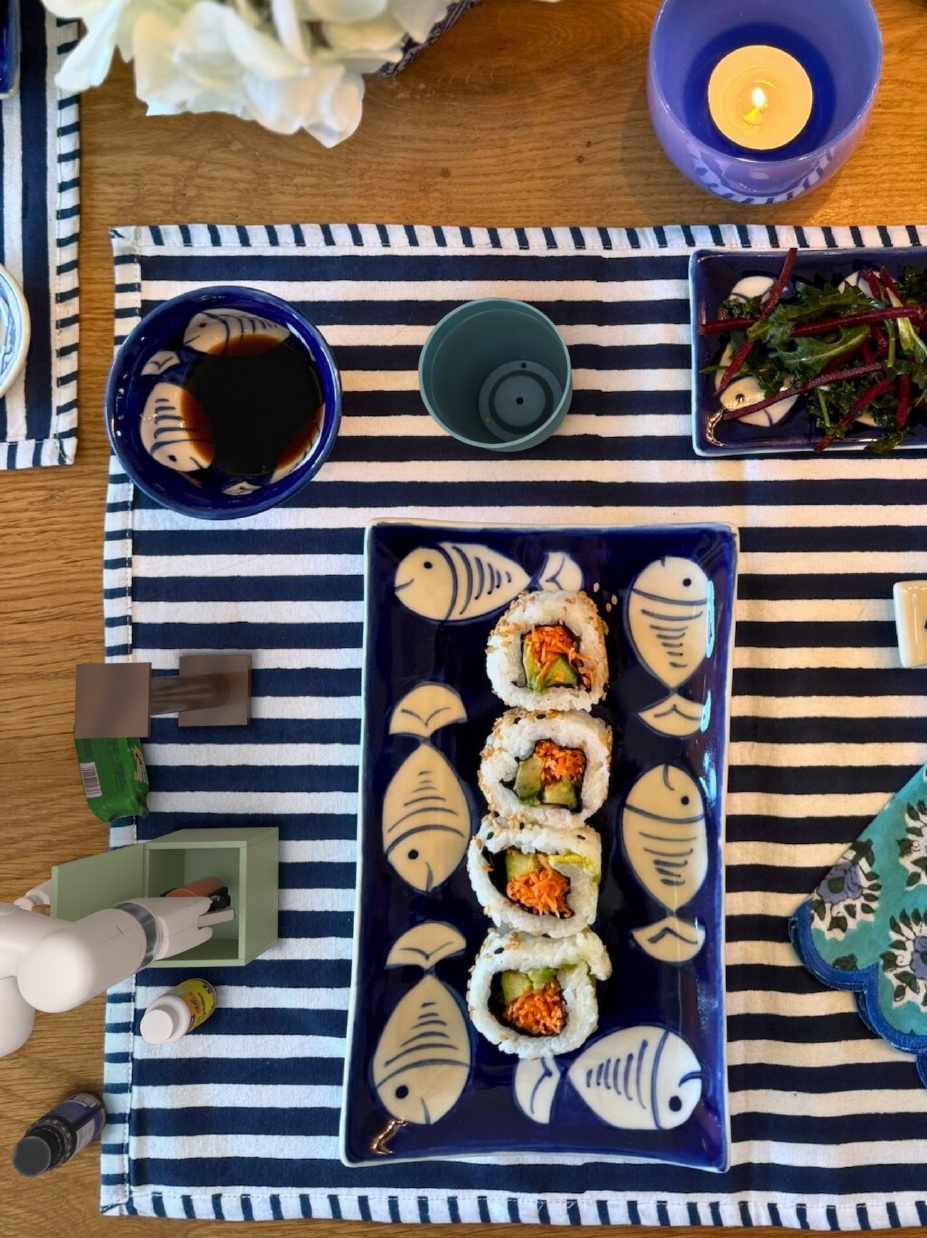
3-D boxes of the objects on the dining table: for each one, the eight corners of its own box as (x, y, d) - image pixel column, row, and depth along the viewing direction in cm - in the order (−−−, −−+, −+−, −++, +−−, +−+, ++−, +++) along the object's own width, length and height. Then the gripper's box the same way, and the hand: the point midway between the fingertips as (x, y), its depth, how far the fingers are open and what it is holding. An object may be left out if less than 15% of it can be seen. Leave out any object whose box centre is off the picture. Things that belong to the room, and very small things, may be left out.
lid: (58, 866, 117) (17, 865, 118) (54, 1006, 116) (12, 1004, 117) (143, 843, 130) (106, 843, 131) (140, 969, 129) (103, 967, 130)
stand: (182, 725, 142) (69, 743, 117) (183, 656, 142) (71, 659, 118) (251, 724, 141) (152, 741, 117) (251, 654, 142) (153, 657, 117)
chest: (278, 826, 140) (246, 840, 130) (277, 943, 139) (244, 965, 129) (182, 829, 140) (142, 842, 131) (180, 945, 139) (139, 968, 129)
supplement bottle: (217, 1022, 138) (178, 1052, 128) (174, 1021, 138) (131, 1051, 128) (219, 976, 139) (180, 1003, 128) (176, 975, 139) (134, 1002, 129)
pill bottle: (52, 1108, 138) (-6, 1149, 127) (92, 1080, 138) (38, 1118, 127) (78, 1150, 137) (22, 1194, 126) (118, 1121, 137) (66, 1163, 126)
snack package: (109, 826, 141) (87, 833, 135) (84, 708, 142) (60, 711, 137) (163, 812, 141) (142, 818, 136) (137, 694, 142) (115, 696, 137)
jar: (187, 918, 133) (158, 933, 126) (188, 876, 134) (159, 889, 127) (228, 917, 133) (201, 932, 126) (228, 875, 134) (201, 888, 127)
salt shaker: (101, 872, 140) (49, 892, 129) (90, 914, 140) (37, 937, 129) (61, 863, 140) (5, 882, 129) (50, 905, 140) (-7, 928, 129)
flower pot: (430, 439, 144) (393, 413, 127) (484, 316, 146) (454, 274, 129) (555, 490, 143) (534, 470, 127) (608, 366, 145) (594, 330, 128)
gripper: (38, 979, 114) (132, 932, 132) (200, 976, 113) (271, 930, 132) (41, 905, 114) (133, 869, 133) (201, 902, 114) (272, 866, 132)
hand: (201, 900), depth 132 cm, fingers closed on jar, 5 cm apart
